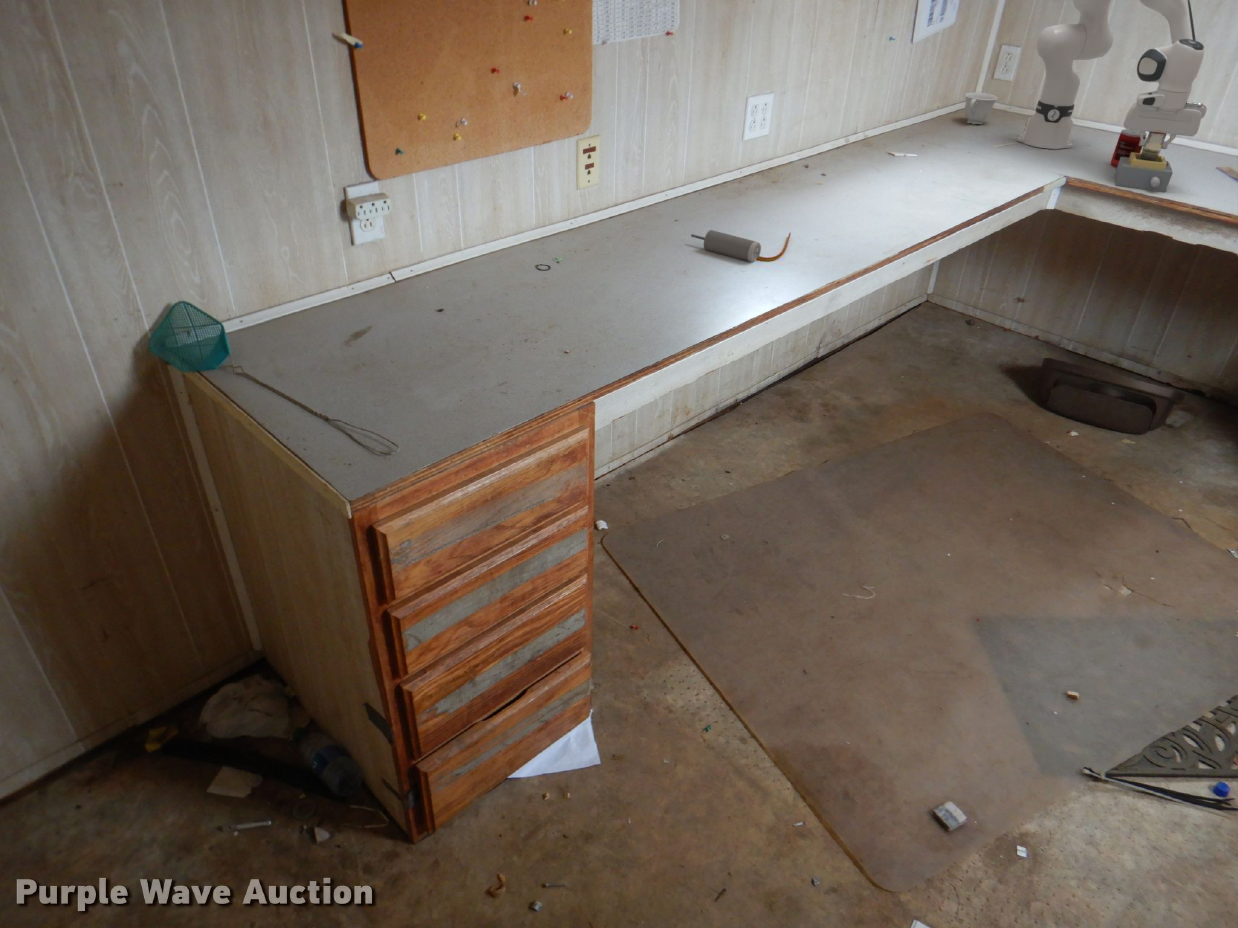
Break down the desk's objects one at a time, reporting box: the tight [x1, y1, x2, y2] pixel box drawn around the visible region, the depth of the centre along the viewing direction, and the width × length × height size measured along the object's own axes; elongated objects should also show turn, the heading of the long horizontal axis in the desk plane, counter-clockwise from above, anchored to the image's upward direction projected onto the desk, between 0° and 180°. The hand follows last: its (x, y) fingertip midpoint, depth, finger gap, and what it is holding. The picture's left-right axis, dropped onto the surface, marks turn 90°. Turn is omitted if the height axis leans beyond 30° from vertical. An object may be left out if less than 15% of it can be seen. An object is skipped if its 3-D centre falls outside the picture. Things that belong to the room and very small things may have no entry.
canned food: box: [1110, 128, 1148, 169], centre depth 286 cm, size 8×8×11 cm
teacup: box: [964, 92, 999, 125], centre depth 329 cm, size 12×15×10 cm
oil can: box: [1140, 131, 1168, 161], centre depth 266 cm, size 5×5×8 cm
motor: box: [690, 229, 791, 263], centre depth 219 cm, size 23×22×5 cm
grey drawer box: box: [1113, 152, 1174, 193], centre depth 269 cm, size 15×14×8 cm
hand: (1152, 147), depth 266 cm, fingers closed on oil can, 5 cm apart
